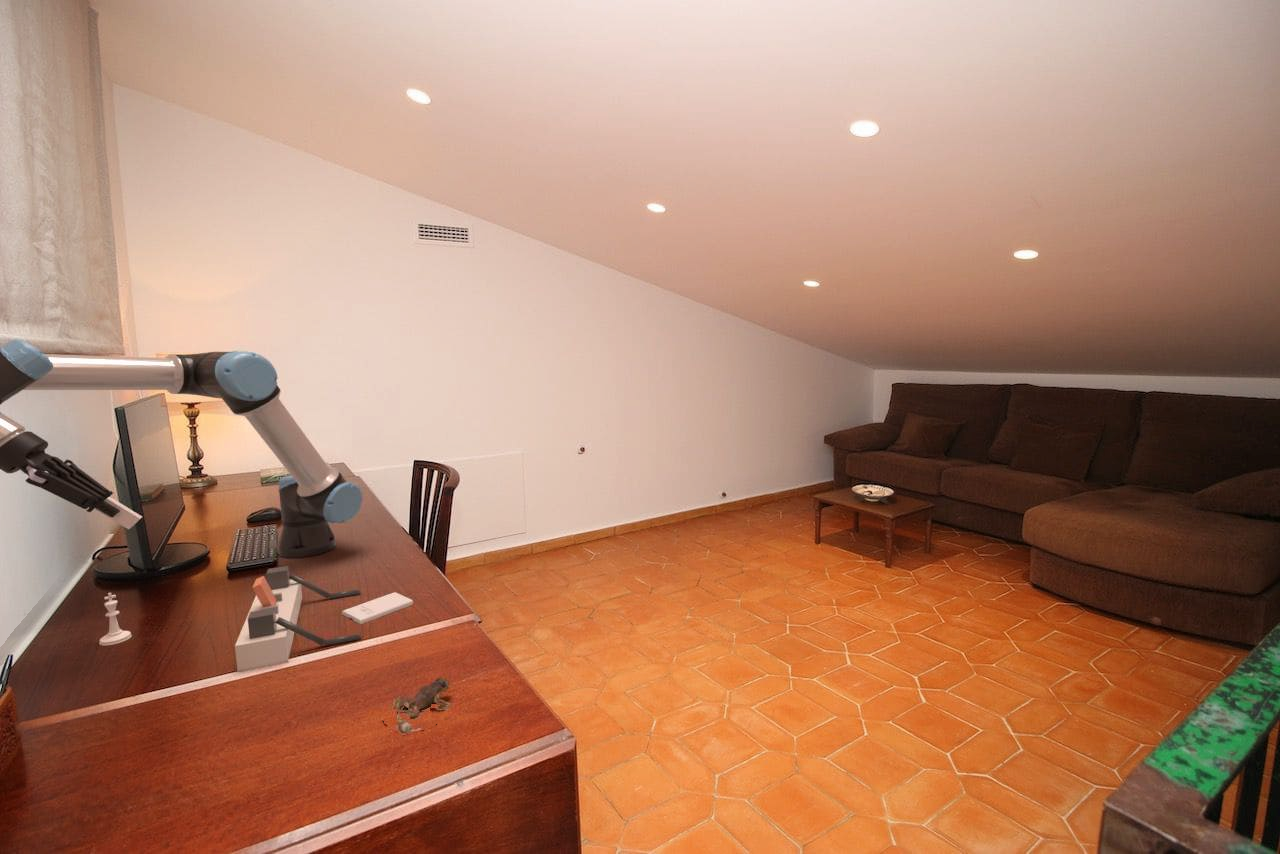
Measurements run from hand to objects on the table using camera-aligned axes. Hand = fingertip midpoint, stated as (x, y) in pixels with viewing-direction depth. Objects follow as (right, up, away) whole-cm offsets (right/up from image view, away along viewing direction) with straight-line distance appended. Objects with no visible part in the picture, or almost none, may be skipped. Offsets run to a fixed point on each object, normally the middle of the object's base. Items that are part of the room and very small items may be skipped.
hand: (135, 523), depth 114 cm
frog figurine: (+63, -28, -19) cm, 71 cm away
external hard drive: (+39, -24, +19) cm, 49 cm away
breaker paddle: (+21, -19, +8) cm, 30 cm away
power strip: (+27, -24, +12) cm, 38 cm away
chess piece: (-9, -25, +5) cm, 27 cm away
